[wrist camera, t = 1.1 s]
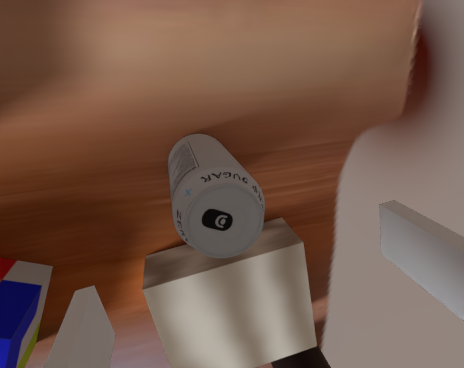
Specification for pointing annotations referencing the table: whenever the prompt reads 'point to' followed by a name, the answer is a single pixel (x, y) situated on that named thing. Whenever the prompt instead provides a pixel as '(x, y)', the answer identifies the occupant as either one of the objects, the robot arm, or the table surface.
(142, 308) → the table surface
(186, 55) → the table surface
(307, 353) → the bottle
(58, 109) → the table surface
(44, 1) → the table surface
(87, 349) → the robot arm
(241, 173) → the energy drink can
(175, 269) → the silver flat block
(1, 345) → the puzzle toy
